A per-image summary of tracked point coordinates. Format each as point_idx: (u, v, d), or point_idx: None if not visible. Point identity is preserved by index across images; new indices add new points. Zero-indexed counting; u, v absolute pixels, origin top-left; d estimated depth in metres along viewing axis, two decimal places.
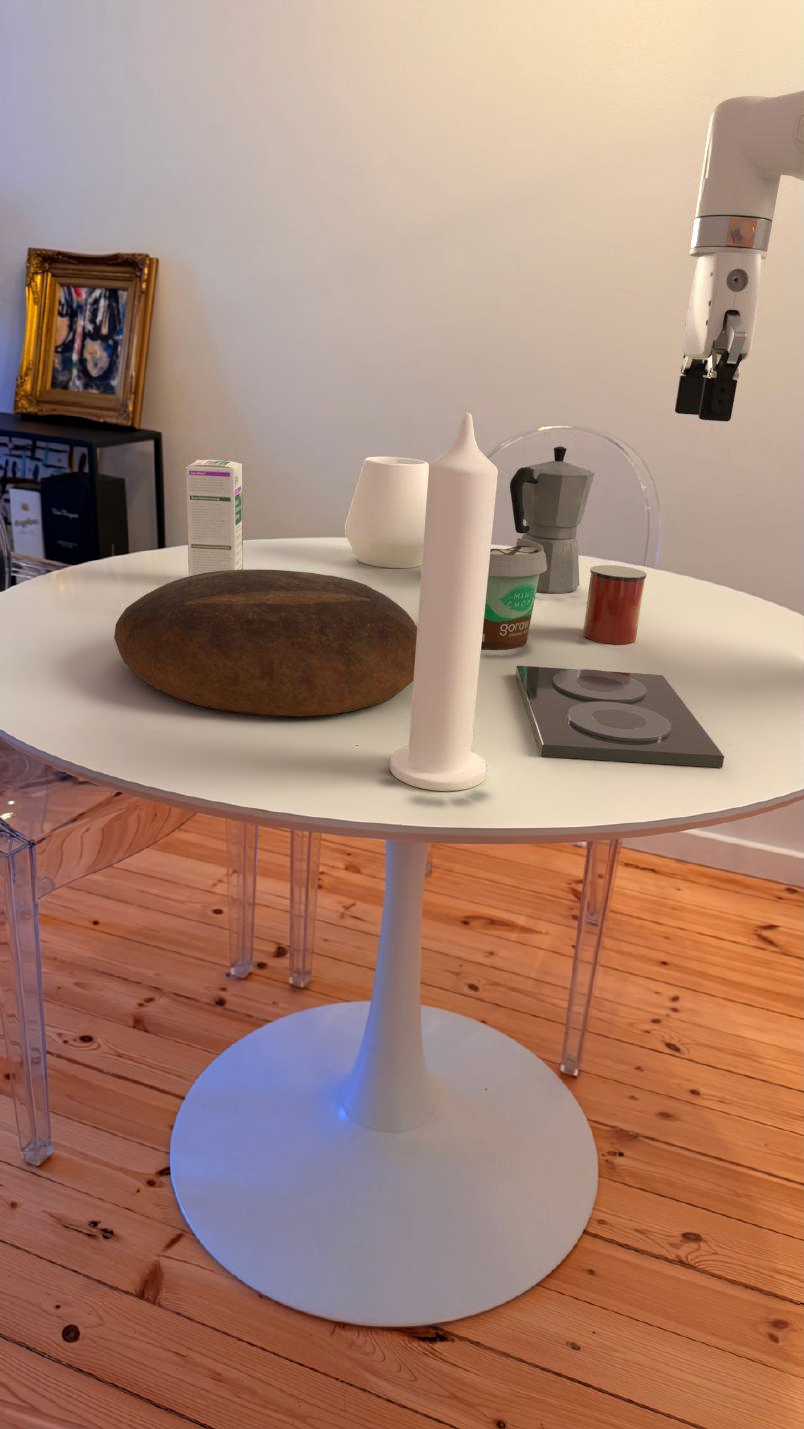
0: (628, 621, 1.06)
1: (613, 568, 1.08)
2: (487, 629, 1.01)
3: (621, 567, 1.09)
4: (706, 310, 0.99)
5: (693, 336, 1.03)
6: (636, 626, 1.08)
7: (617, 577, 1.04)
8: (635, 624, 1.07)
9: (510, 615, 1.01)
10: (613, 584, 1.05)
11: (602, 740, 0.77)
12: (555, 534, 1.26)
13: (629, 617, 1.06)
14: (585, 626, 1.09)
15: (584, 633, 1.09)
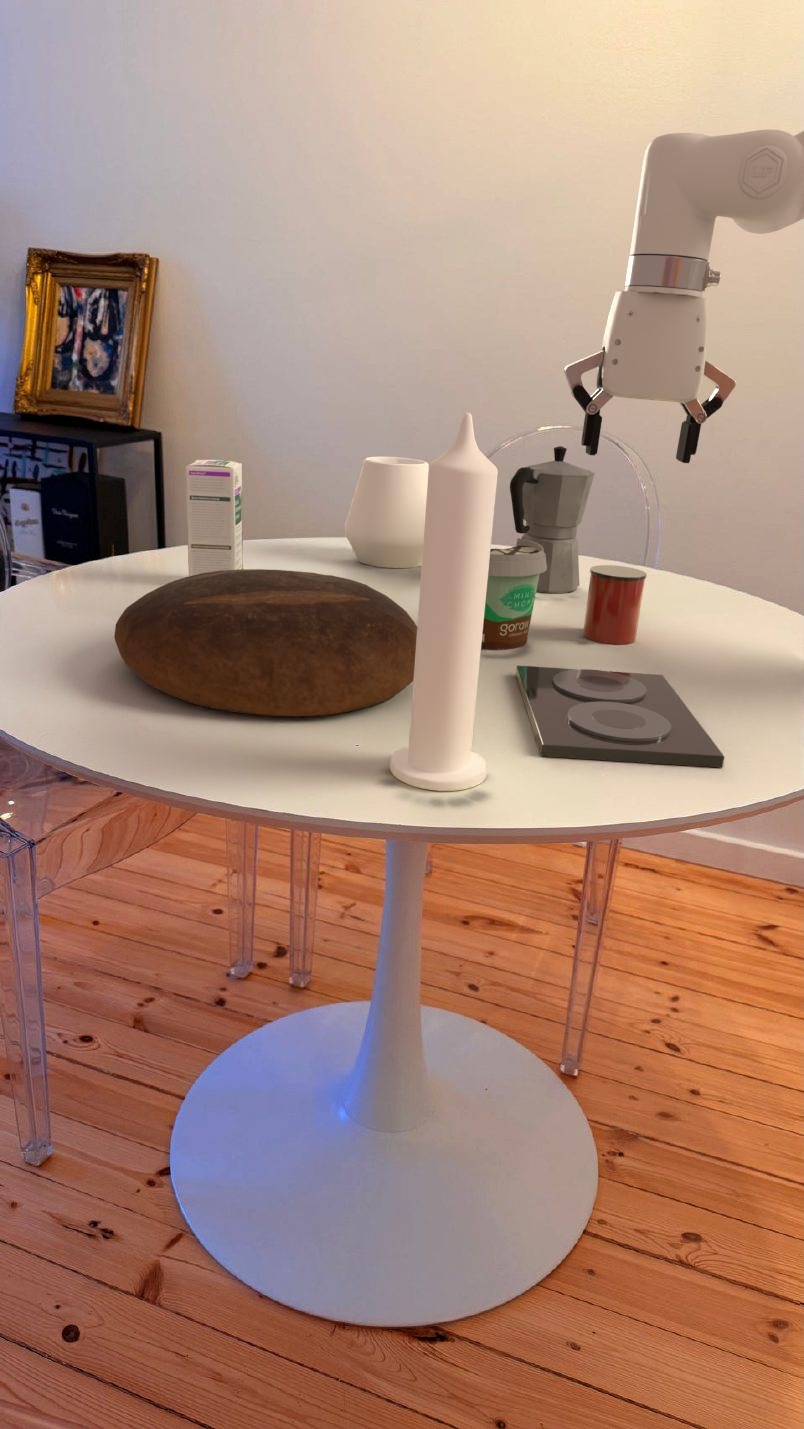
0: (628, 621, 1.06)
1: (613, 568, 1.08)
2: (487, 629, 1.01)
3: (621, 567, 1.09)
4: (694, 355, 0.98)
5: (658, 378, 0.98)
6: (636, 626, 1.08)
7: (617, 577, 1.04)
8: (635, 624, 1.07)
9: (510, 615, 1.01)
10: (613, 584, 1.05)
11: (602, 740, 0.77)
12: (555, 534, 1.26)
13: (629, 617, 1.06)
14: (585, 626, 1.09)
15: (584, 633, 1.09)
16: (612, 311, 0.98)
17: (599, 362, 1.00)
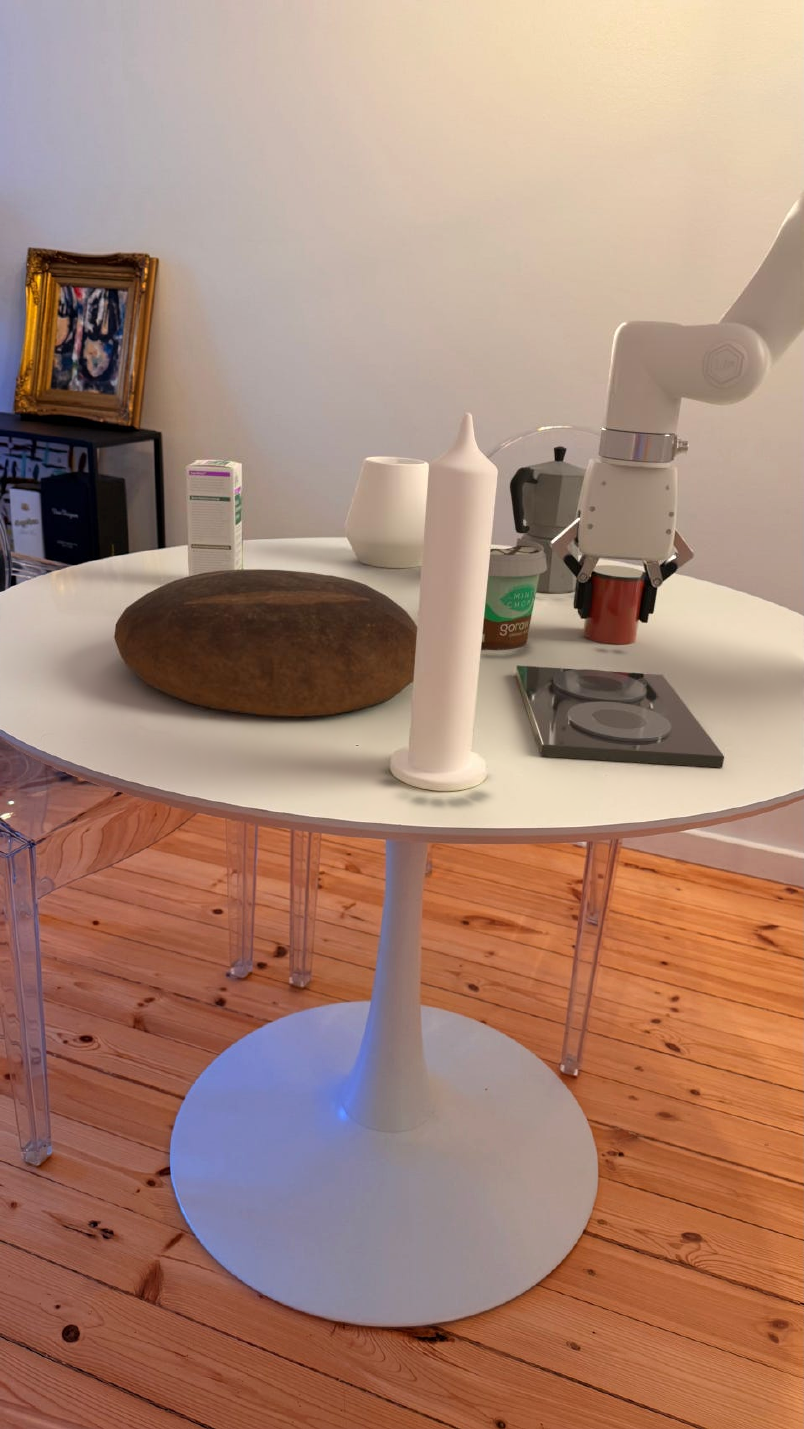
0: (628, 621, 1.06)
1: (613, 568, 1.08)
2: (487, 629, 1.01)
3: (621, 567, 1.09)
4: (665, 520, 1.03)
5: (631, 541, 1.04)
6: (636, 626, 1.08)
7: (617, 577, 1.04)
8: (635, 624, 1.07)
9: (510, 615, 1.01)
10: (613, 585, 1.05)
11: (602, 740, 0.77)
12: (555, 534, 1.26)
13: (629, 617, 1.06)
14: (585, 626, 1.09)
15: (584, 633, 1.09)
16: (586, 478, 1.03)
17: None
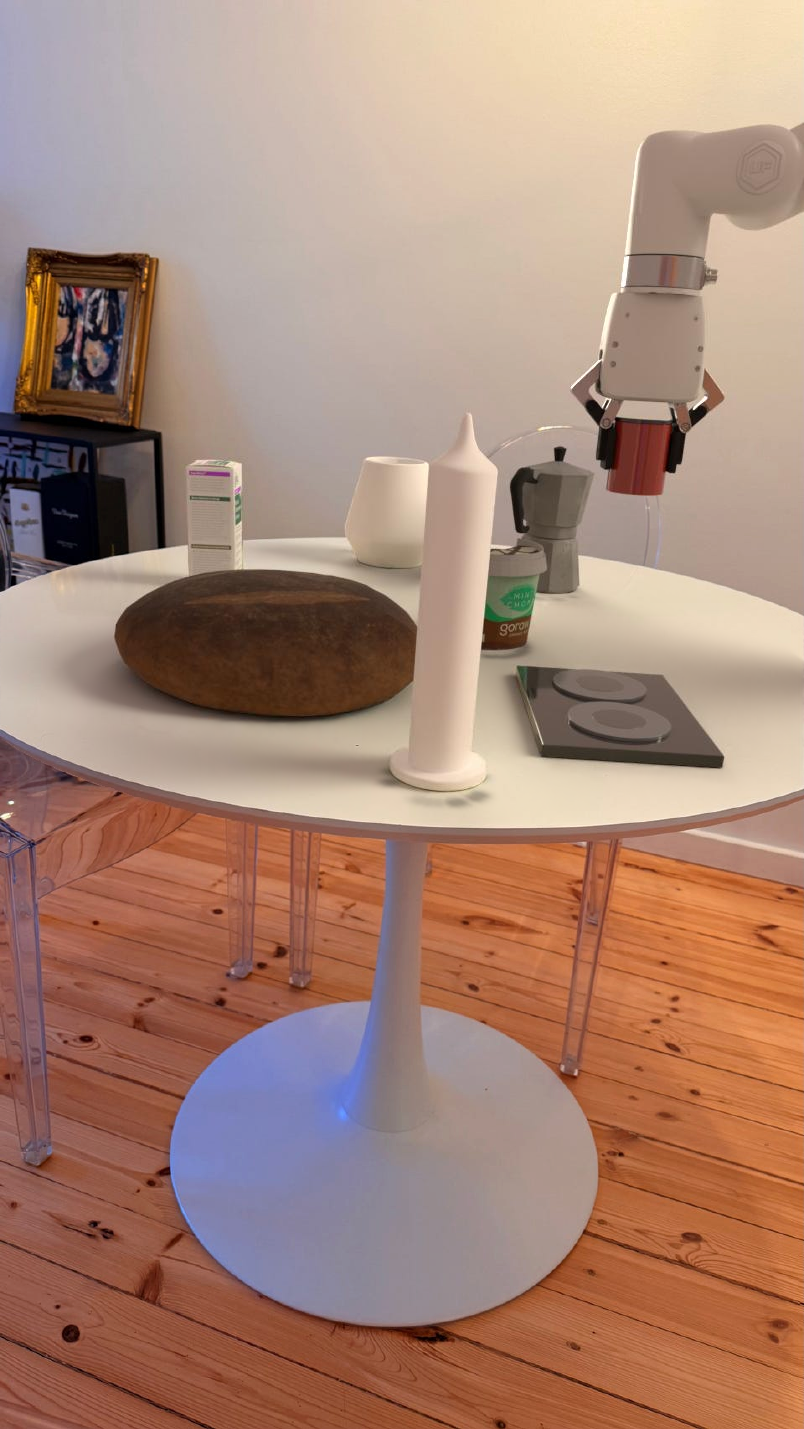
0: (655, 469, 1.00)
1: None
2: (487, 629, 1.01)
3: None
4: (693, 355, 0.96)
5: (657, 380, 0.97)
6: (663, 477, 1.01)
7: (643, 420, 0.98)
8: (663, 474, 1.00)
9: (510, 615, 1.01)
10: (639, 429, 0.98)
11: (602, 740, 0.77)
12: (555, 534, 1.26)
13: (656, 465, 0.99)
14: (608, 479, 1.02)
15: (607, 487, 1.02)
16: (609, 313, 0.97)
17: None
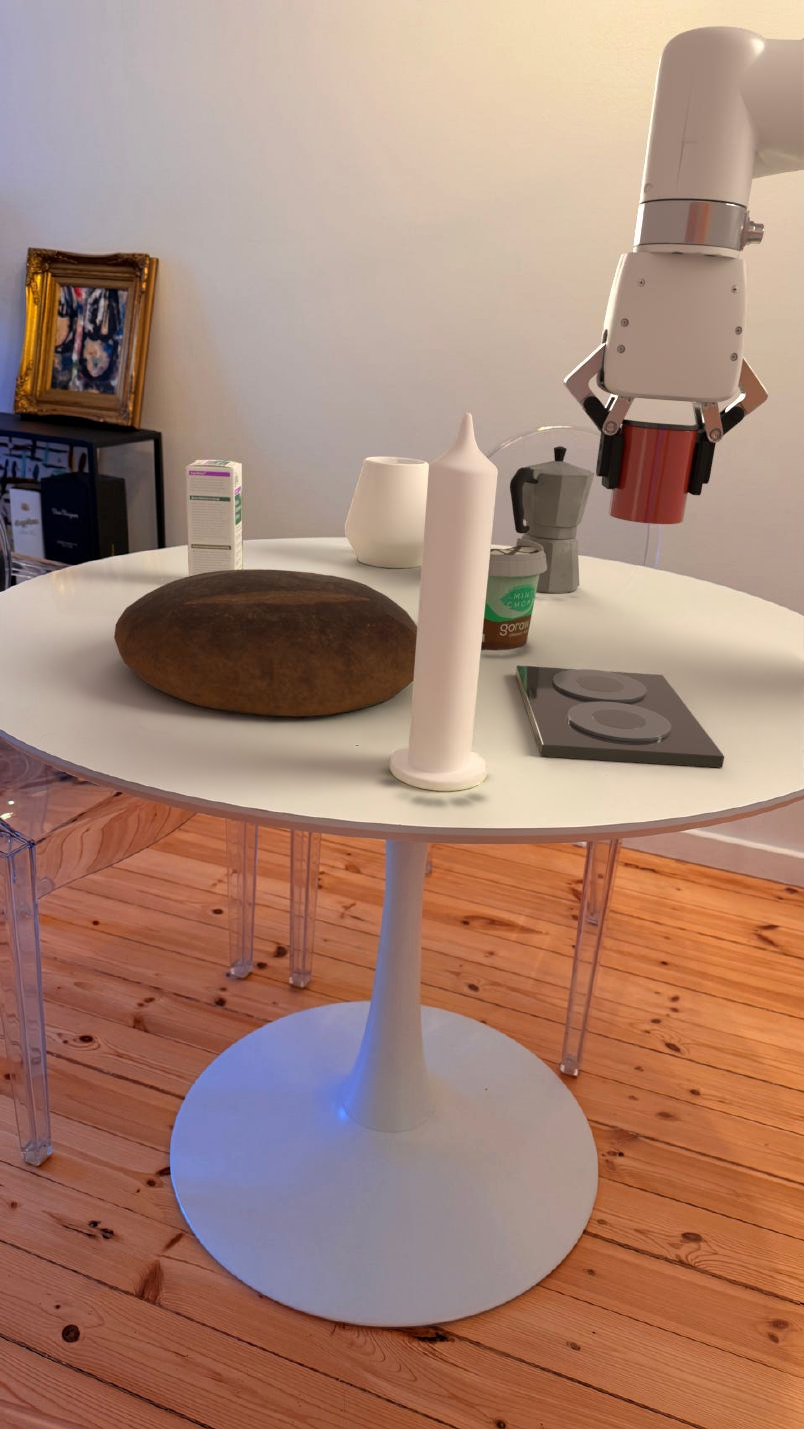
0: (674, 490, 0.75)
1: (652, 419, 0.77)
2: (487, 629, 1.01)
3: None
4: (729, 339, 0.72)
5: (680, 371, 0.72)
6: (685, 500, 0.76)
7: (659, 424, 0.73)
8: (684, 496, 0.76)
9: (510, 615, 1.01)
10: (654, 436, 0.74)
11: (602, 740, 0.77)
12: (555, 534, 1.26)
13: (676, 484, 0.75)
14: (612, 502, 0.78)
15: (611, 512, 0.78)
16: (616, 281, 0.72)
17: None
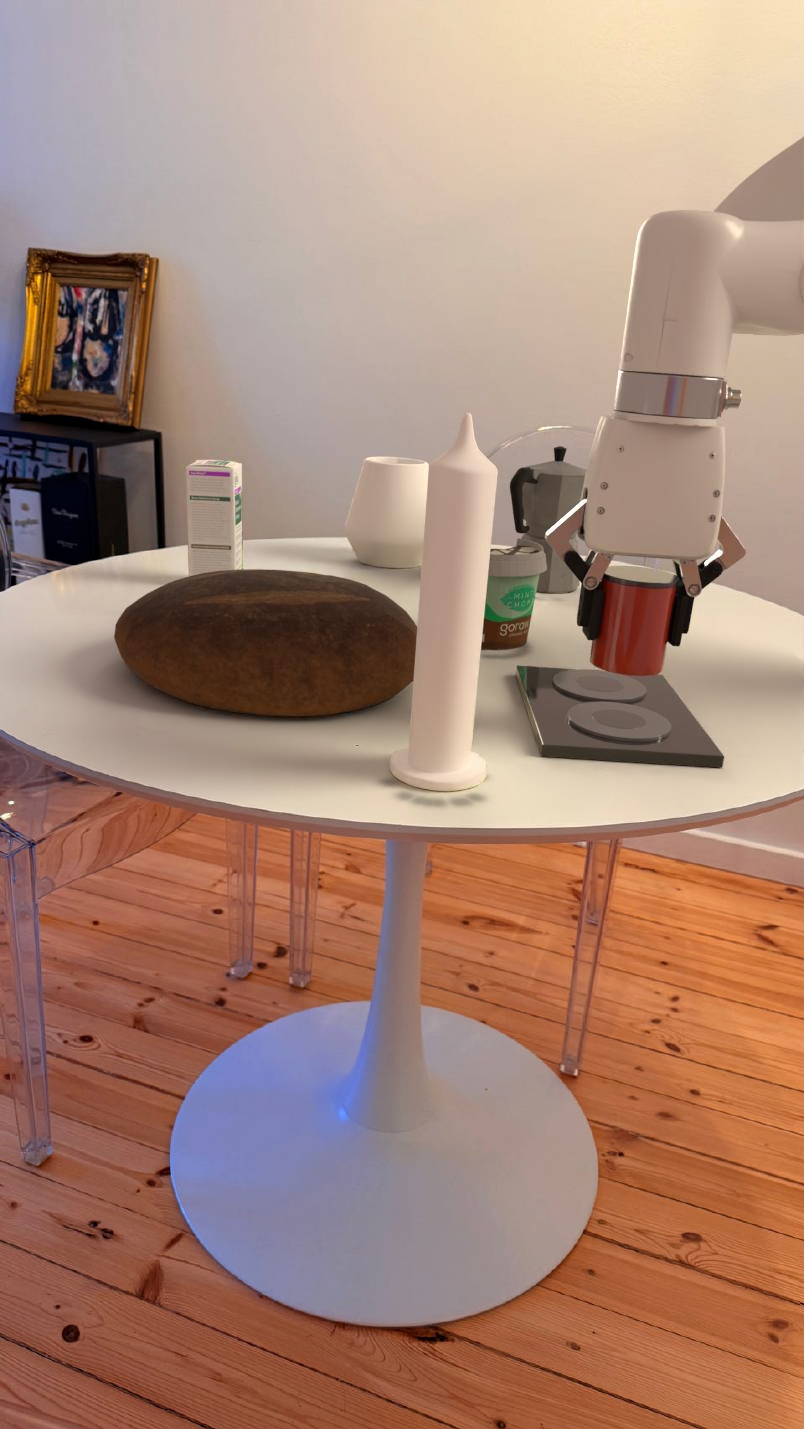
0: (654, 643, 0.76)
1: (632, 570, 0.78)
2: (487, 629, 1.01)
3: (643, 568, 0.79)
4: (707, 502, 0.73)
5: (659, 532, 0.73)
6: (664, 651, 0.77)
7: (639, 582, 0.74)
8: (663, 648, 0.77)
9: (510, 615, 1.01)
10: (633, 593, 0.75)
11: (602, 740, 0.77)
12: None
13: (655, 638, 0.76)
14: (593, 650, 0.79)
15: (591, 660, 0.79)
16: (596, 442, 0.73)
17: None
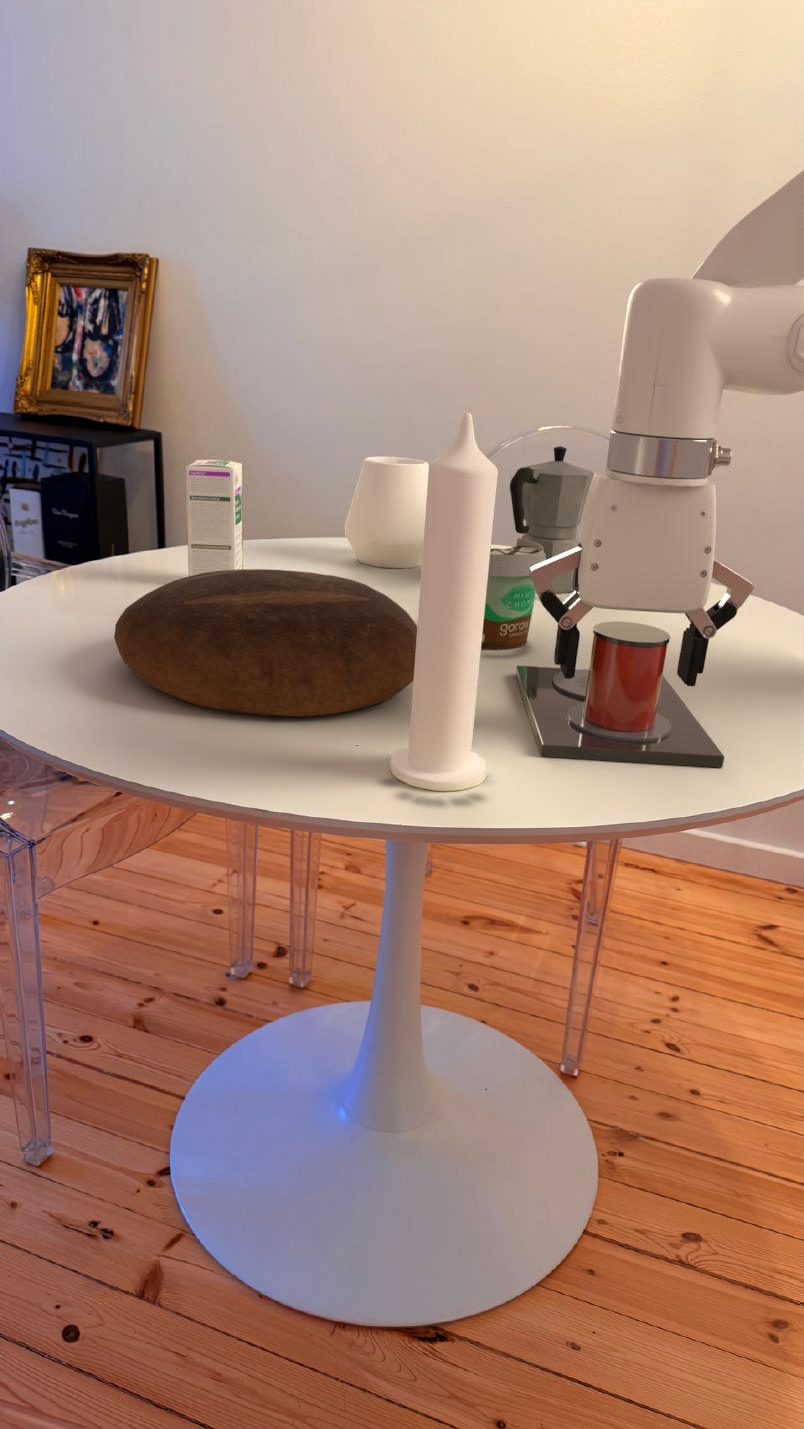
0: (645, 700, 0.78)
1: (624, 627, 0.80)
2: (487, 629, 1.01)
3: (635, 625, 0.80)
4: (699, 558, 0.74)
5: (652, 587, 0.75)
6: (656, 706, 0.79)
7: (630, 642, 0.76)
8: (655, 703, 0.79)
9: (510, 615, 1.01)
10: (625, 652, 0.76)
11: (602, 740, 0.77)
12: (555, 534, 1.26)
13: (647, 695, 0.78)
14: (586, 705, 0.80)
15: (585, 714, 0.80)
16: (590, 500, 0.75)
17: (574, 564, 0.76)
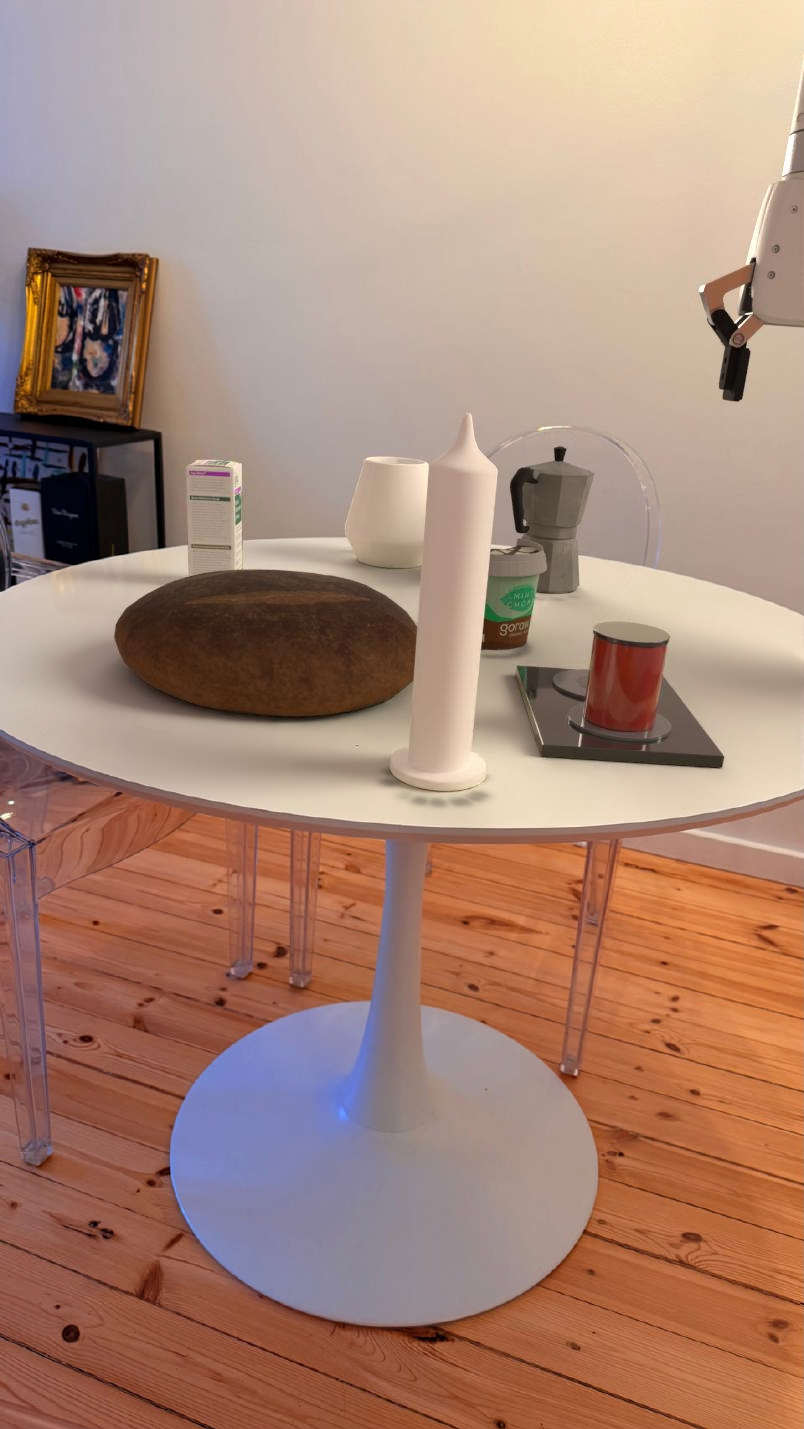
0: (645, 700, 0.78)
1: (624, 627, 0.80)
2: (487, 629, 1.01)
3: (635, 625, 0.80)
4: None
5: None
6: (656, 706, 0.79)
7: (630, 642, 0.76)
8: (655, 703, 0.79)
9: (510, 615, 1.01)
10: (625, 652, 0.76)
11: (602, 740, 0.77)
12: (555, 534, 1.26)
13: (647, 695, 0.78)
14: (586, 705, 0.80)
15: (585, 714, 0.80)
16: (766, 209, 0.75)
17: (748, 278, 0.76)
